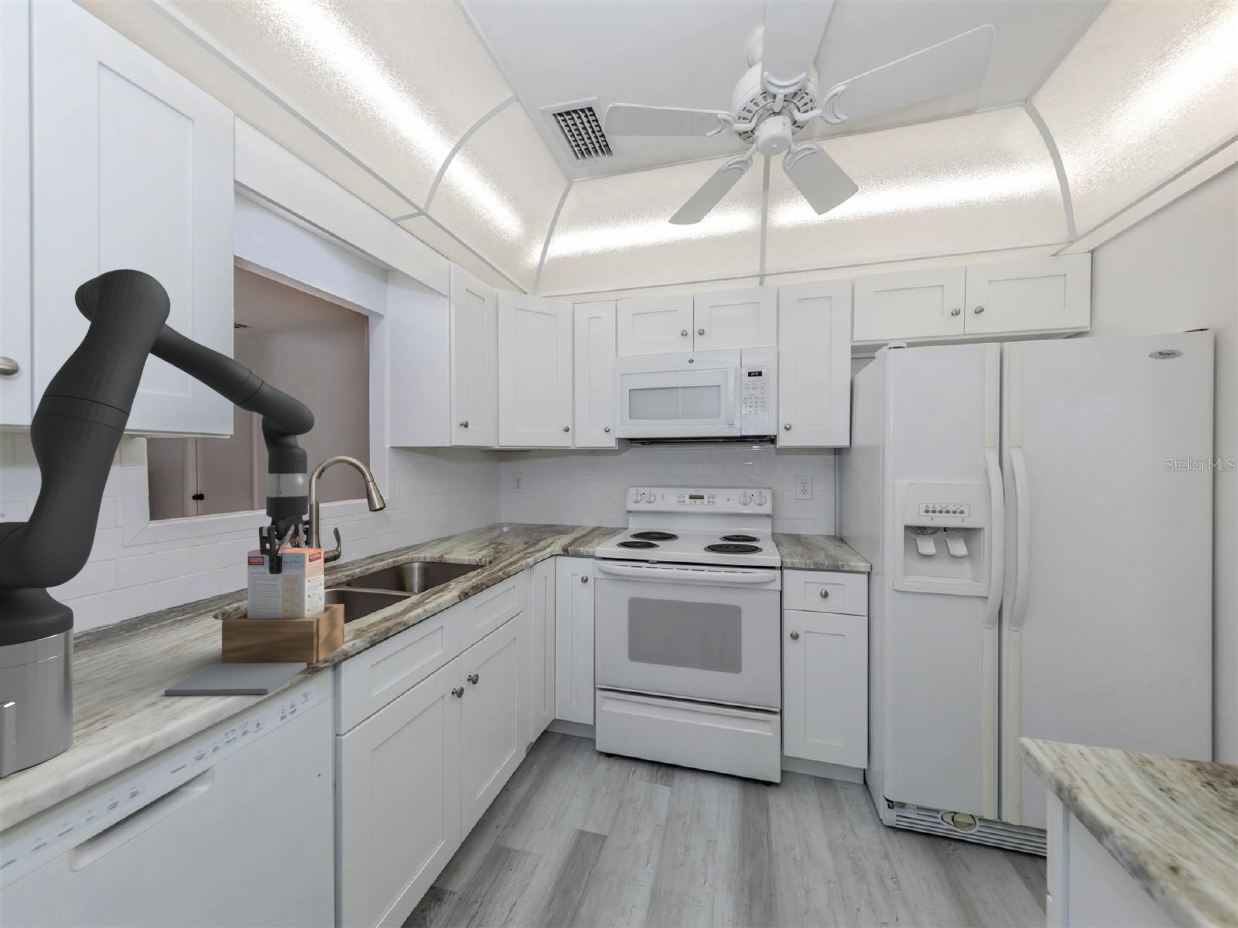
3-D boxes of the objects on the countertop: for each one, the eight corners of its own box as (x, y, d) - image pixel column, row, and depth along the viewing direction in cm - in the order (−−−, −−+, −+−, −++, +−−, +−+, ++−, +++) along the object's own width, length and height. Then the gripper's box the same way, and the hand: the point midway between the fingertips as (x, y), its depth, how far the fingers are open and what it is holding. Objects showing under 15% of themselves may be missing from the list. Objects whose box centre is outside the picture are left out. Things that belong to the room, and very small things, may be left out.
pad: (267, 694, 84) (267, 688, 84) (164, 695, 83) (164, 689, 83) (306, 667, 95) (306, 662, 95) (215, 668, 94) (216, 663, 94)
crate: (315, 663, 97) (315, 620, 97) (219, 664, 96) (220, 621, 96) (345, 642, 108) (346, 604, 108) (260, 643, 107) (260, 604, 107)
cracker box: (325, 640, 104) (326, 547, 104) (303, 651, 98) (304, 552, 98) (270, 637, 106) (270, 545, 106) (245, 647, 100) (245, 550, 100)
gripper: (282, 496, 95) (281, 578, 95) (324, 492, 109) (324, 563, 109) (244, 496, 95) (244, 578, 95) (292, 492, 109) (291, 563, 109)
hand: (286, 569), depth 102 cm, fingers closed on cracker box, 6 cm apart
